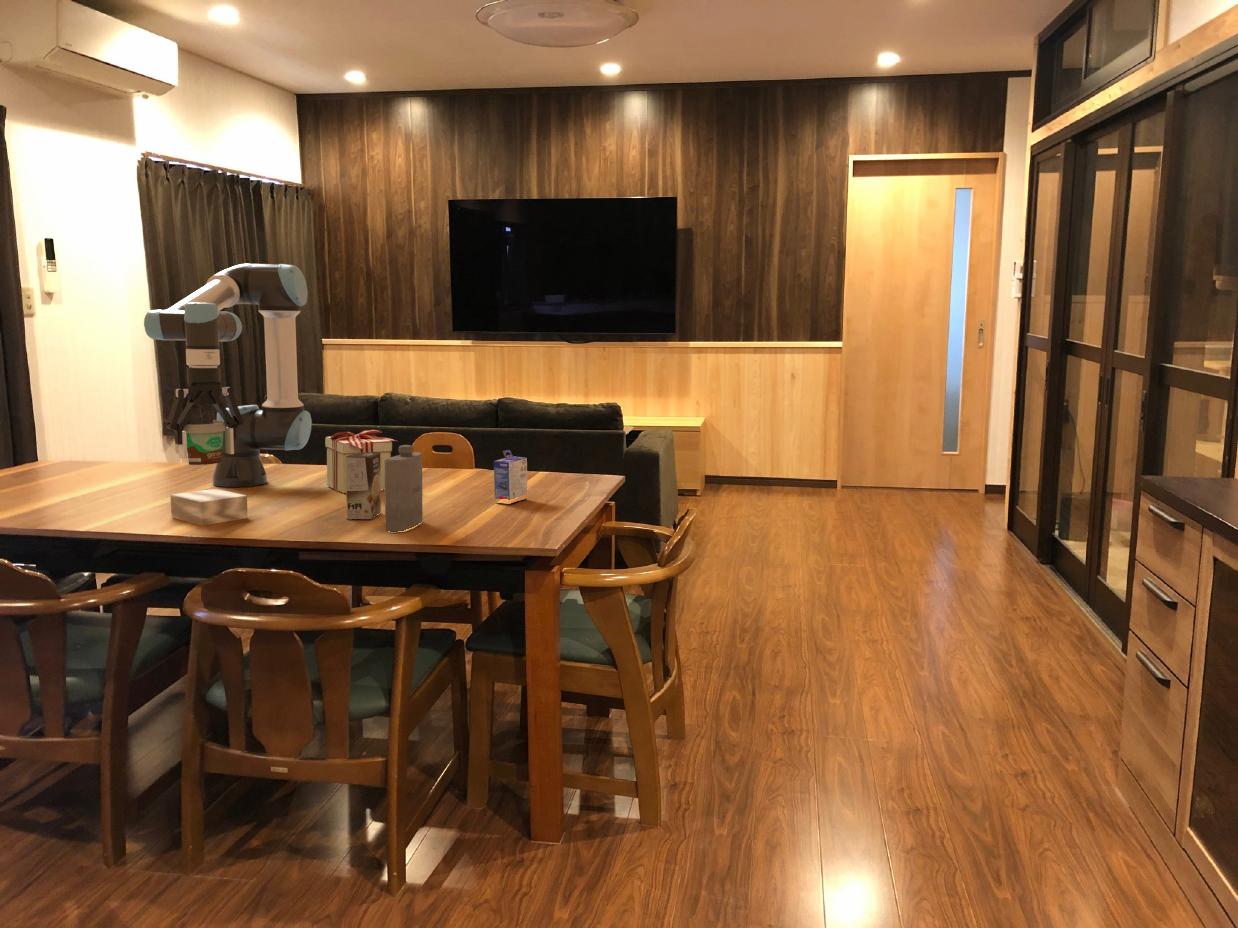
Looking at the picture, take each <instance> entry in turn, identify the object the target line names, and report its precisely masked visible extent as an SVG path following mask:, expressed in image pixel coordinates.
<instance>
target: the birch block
mask: <svg viewBox="0 0 1238 928" xmlns="http://www.w3.org/2000/svg"><path fill="white" fill-rule="evenodd" d="M170 513H171V515H170V516H171V518H172V517H173V519H177V520H181V521H184V520H185V521H184V522H188V523H192V524H196V525H199V526H207V525H213V524H214V525H215V524H219V523H226V522H231V521H237V520H244V519H248V496H247V495H246V494H241V493H238V492H234V491H227V490H224V489H219V488H211V489H204V490H203V489H202V490H196V491H190V492H189V491H187V492H182V493H181V492H180V493H175V494H170Z"/></svg>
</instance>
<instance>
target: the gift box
mask: <svg viewBox="0 0 1238 928" xmlns="http://www.w3.org/2000/svg"><path fill="white" fill-rule="evenodd" d="M376 434H383V431H382V430H376V429H370V430H362V431H361V432H359V433H357V434H356V433H353V432H350V431H341V432H336V433H334V434H332V436H326V437H325V438H324V439H325V441H324V442H325V444H324V445H325V448H326V485H327V486H328V487H329V488H332V489H333V490H335V491H337V492H339V491H340V493H341V492H342V494H343V493H347V490H346V456H349V455H352V454H354V453H357V452H363V453H364V452H374V453H380V468H381V489H385V463H384V460H385V459H386V458H389V457H392V455H391V454H392V453H391V452H393V442H397V440H395V439H393V438H391V437H389V438H388V437H384V436H378V435H376Z"/></svg>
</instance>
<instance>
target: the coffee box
mask: <svg viewBox="0 0 1238 928" xmlns="http://www.w3.org/2000/svg"><path fill="white" fill-rule="evenodd" d="M346 490H347V494H346V520H352V519H371V520H373V519H374V518H375V517H374V516H376V515H377V514H379V513H380V512H381V513H382V497H381V496H382V494H381V493H382V491H381V468H380V453H374V452H364V453H363V452H357V453H354V454H352V455H349V456H346ZM381 513H380V514H381ZM380 514H379V515H380ZM377 516H378V515H377ZM377 516H376V517H377ZM373 517H374V518H373ZM372 518H373V519H372Z"/></svg>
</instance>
